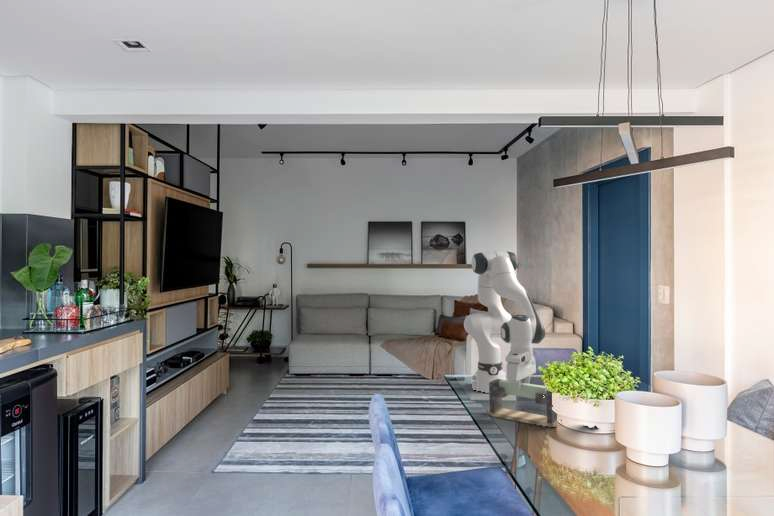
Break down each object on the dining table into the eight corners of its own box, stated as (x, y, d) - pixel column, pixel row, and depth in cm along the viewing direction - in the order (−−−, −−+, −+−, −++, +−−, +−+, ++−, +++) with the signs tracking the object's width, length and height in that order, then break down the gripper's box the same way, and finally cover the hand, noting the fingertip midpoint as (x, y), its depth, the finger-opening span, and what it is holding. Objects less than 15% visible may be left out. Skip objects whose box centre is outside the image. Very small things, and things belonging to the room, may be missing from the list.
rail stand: (487, 415, 212) (486, 382, 212) (496, 410, 218) (495, 378, 218) (554, 428, 193) (553, 392, 193) (562, 422, 199) (561, 387, 199)
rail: (499, 393, 211) (499, 381, 211) (502, 391, 213) (502, 379, 213) (545, 400, 198) (544, 388, 198) (548, 398, 200) (547, 386, 200)
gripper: (525, 350, 216) (526, 381, 216) (503, 358, 200) (504, 392, 200) (539, 351, 211) (540, 384, 211) (518, 359, 196) (519, 395, 196)
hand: (522, 388), depth 206 cm, fingers open, 6 cm apart
